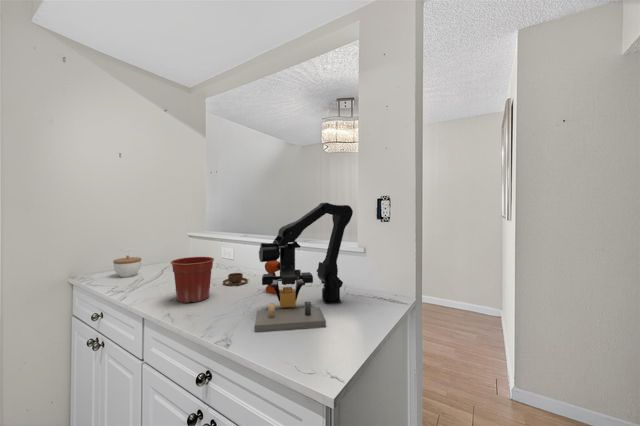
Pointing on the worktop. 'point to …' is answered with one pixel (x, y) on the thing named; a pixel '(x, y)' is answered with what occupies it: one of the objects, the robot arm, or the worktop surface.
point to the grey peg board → (289, 318)
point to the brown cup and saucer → (235, 279)
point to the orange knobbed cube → (287, 297)
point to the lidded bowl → (127, 266)
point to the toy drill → (271, 269)
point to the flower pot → (192, 278)
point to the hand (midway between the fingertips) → (287, 301)
